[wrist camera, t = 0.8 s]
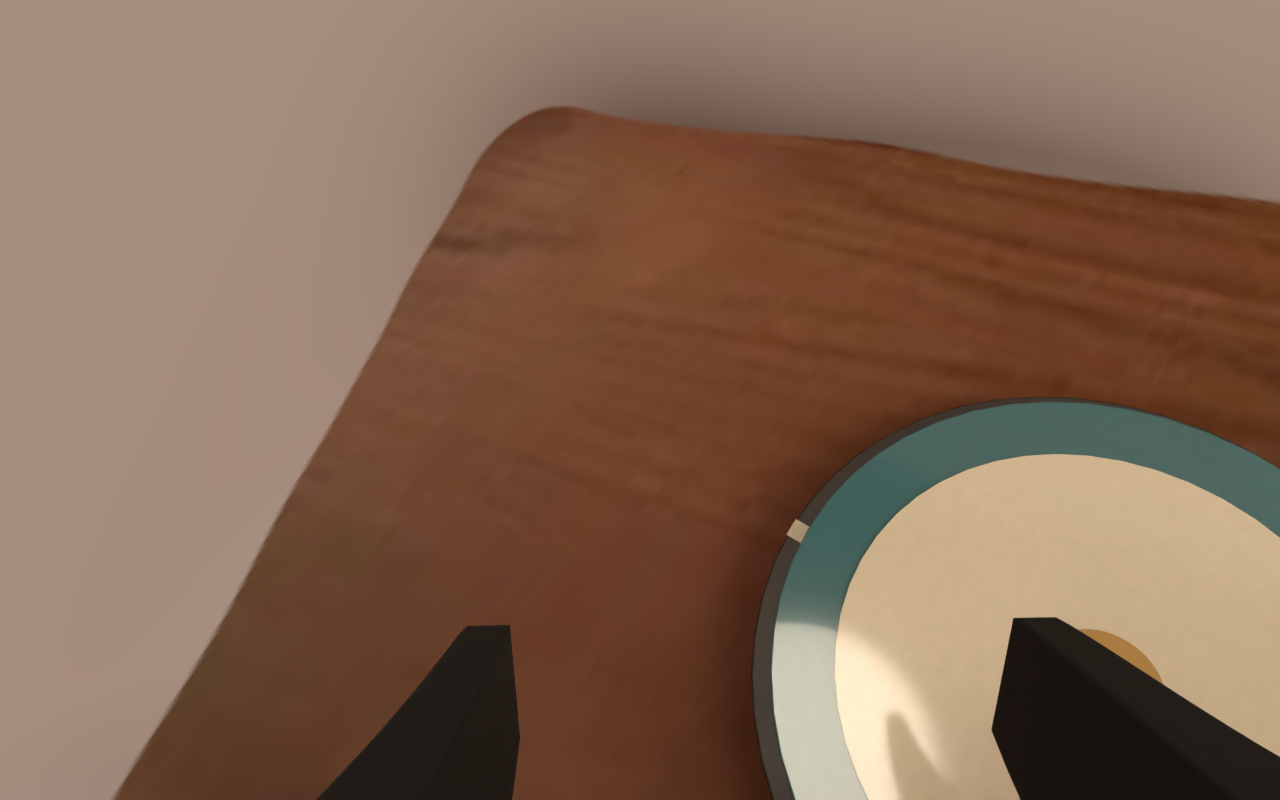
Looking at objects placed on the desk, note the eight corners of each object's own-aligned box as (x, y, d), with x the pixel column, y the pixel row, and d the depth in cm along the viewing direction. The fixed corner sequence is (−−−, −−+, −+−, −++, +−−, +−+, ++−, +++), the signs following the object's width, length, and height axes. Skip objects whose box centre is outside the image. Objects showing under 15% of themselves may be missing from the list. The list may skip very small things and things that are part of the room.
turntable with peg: (929, 329, 25) (950, 245, 21) (1573, 592, 19) (1788, 544, 14) (661, 780, 21) (623, 784, 17) (1370, 1337, 14) (1591, 1570, 10)
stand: (1687, 888, 17) (1747, 896, 16) (1001, 1270, 17) (1014, 1306, 16) (1116, 323, 26) (1130, 303, 25) (658, 569, 25) (651, 560, 24)
